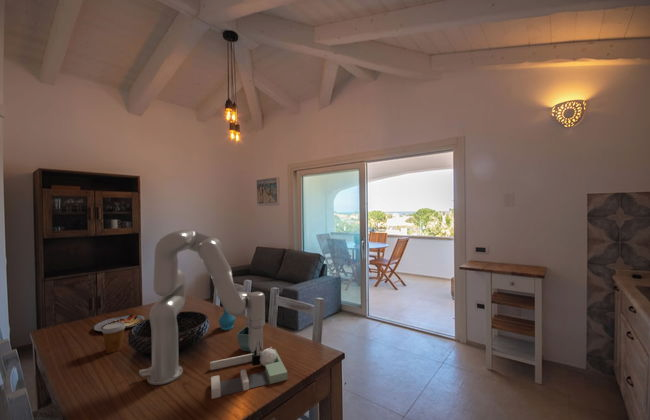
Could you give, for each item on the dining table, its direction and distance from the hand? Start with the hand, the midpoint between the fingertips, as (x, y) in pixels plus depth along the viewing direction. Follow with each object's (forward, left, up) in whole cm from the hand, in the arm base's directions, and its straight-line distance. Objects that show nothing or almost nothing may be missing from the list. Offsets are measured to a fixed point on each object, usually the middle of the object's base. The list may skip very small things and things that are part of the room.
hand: (256, 364), depth 122 cm
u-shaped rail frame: (-4, -4, -1) cm, 6 cm away
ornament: (+5, -1, -1) cm, 5 cm away
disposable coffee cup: (-61, +44, -1) cm, 76 cm away
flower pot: (0, +17, -1) cm, 18 cm away
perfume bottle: (-8, +49, -1) cm, 50 cm away
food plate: (-66, +79, -2) cm, 103 cm away
